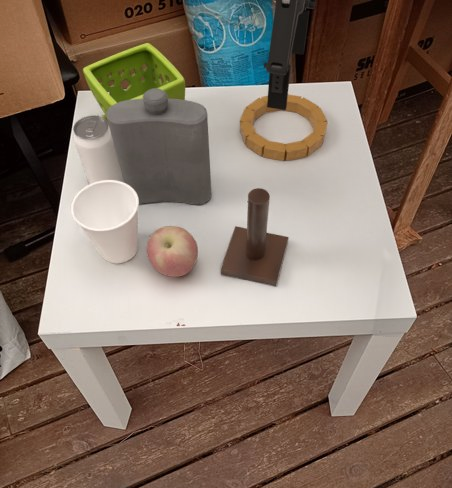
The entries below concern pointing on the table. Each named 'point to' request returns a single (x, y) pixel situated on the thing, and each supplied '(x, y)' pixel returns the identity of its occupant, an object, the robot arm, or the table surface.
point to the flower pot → (133, 76)
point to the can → (96, 149)
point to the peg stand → (255, 245)
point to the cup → (109, 218)
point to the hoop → (281, 149)
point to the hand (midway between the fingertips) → (286, 78)
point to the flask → (162, 147)
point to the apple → (172, 251)
